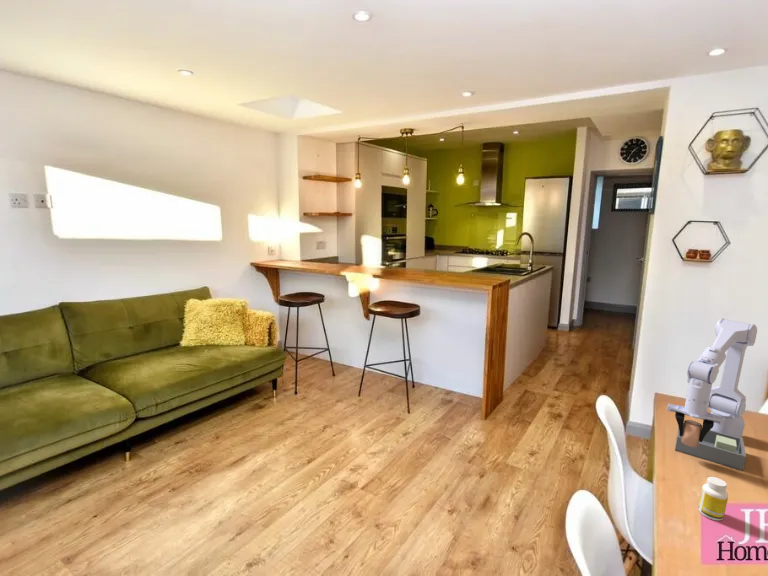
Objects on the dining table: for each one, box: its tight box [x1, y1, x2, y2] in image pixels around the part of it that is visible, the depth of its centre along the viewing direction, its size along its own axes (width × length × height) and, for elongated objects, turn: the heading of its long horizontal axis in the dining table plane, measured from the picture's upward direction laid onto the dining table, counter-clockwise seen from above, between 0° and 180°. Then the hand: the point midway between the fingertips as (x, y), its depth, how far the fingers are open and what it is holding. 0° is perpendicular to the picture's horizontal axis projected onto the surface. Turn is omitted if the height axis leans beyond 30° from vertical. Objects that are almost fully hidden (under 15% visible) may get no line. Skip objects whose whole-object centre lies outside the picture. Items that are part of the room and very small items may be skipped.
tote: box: [674, 423, 747, 472], centre depth 139 cm, size 18×14×5 cm
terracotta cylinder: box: [681, 419, 703, 447], centre depth 133 cm, size 5×5×7 cm
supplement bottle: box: [698, 476, 729, 521], centre depth 109 cm, size 5×5×10 cm
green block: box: [714, 435, 737, 453], centre depth 136 cm, size 5×5×5 cm
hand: (690, 437), depth 133 cm, fingers closed on terracotta cylinder, 5 cm apart
